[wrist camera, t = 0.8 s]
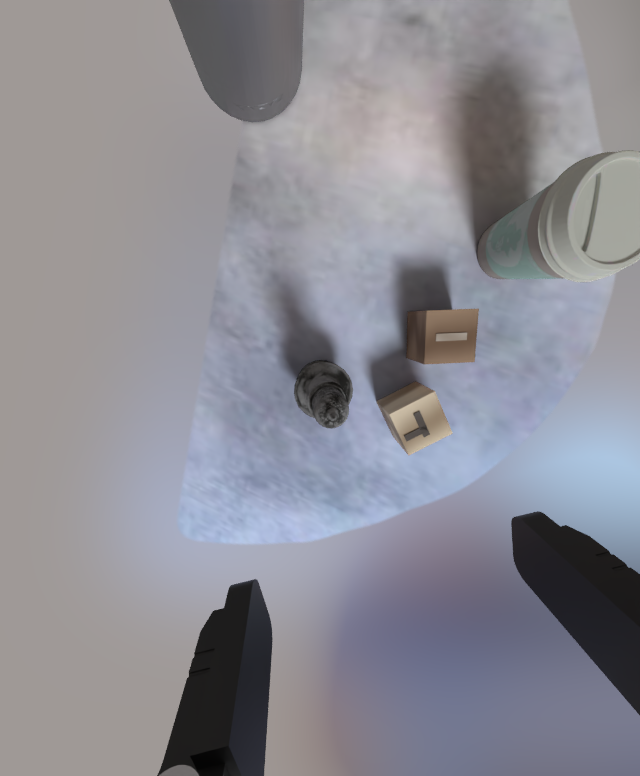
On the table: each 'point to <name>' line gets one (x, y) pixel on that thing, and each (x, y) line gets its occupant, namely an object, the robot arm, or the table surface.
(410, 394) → the beech block digit
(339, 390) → the black chess piece
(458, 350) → the walnut block digit
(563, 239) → the coffee cup
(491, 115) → the table surface
